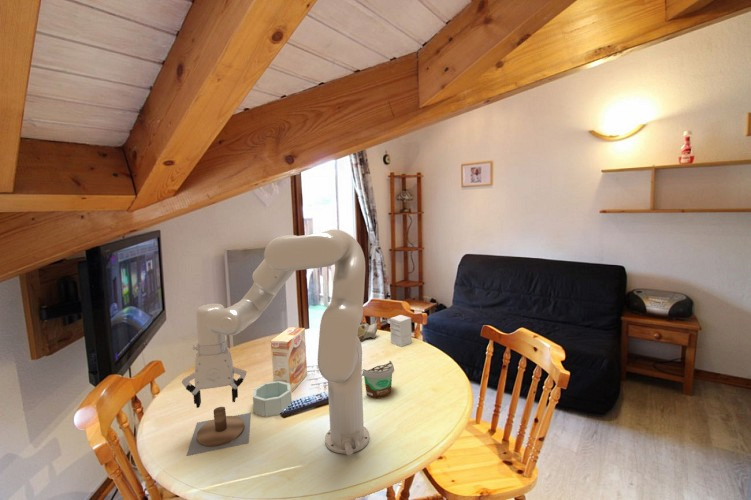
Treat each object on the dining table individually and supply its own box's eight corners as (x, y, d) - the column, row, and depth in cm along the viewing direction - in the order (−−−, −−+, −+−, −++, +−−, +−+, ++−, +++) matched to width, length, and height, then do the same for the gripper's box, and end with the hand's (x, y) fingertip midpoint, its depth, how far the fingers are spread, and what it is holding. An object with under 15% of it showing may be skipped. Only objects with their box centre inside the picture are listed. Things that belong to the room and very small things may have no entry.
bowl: (292, 413, 118) (291, 395, 117) (253, 420, 114) (252, 402, 113) (290, 395, 129) (289, 379, 128) (255, 401, 126) (253, 384, 125)
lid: (243, 440, 103) (241, 417, 103) (193, 451, 100) (190, 426, 99) (245, 415, 116) (243, 394, 115) (201, 424, 112) (199, 402, 111)
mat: (248, 445, 102) (248, 443, 102) (186, 457, 98) (186, 455, 98) (251, 414, 118) (250, 412, 118) (197, 424, 113) (196, 422, 113)
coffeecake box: (291, 394, 130) (287, 341, 127) (273, 392, 131) (269, 340, 129) (308, 374, 144) (305, 327, 142) (291, 373, 146) (288, 326, 143)
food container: (372, 404, 121) (371, 376, 120) (363, 396, 126) (362, 369, 125) (401, 392, 128) (401, 366, 127) (391, 385, 133) (390, 360, 132)
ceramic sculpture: (379, 323, 177) (349, 328, 173) (381, 340, 178) (351, 345, 175) (374, 317, 187) (345, 322, 184) (375, 333, 188) (347, 338, 185)
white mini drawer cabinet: (401, 339, 179) (400, 314, 177) (412, 343, 173) (411, 317, 172) (390, 343, 174) (389, 317, 173) (401, 347, 169) (400, 321, 167)
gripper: (176, 356, 98) (181, 414, 101) (244, 348, 103) (247, 404, 106) (182, 345, 106) (186, 400, 108) (245, 339, 110) (248, 391, 113)
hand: (216, 402), depth 107 cm, fingers open, 9 cm apart
